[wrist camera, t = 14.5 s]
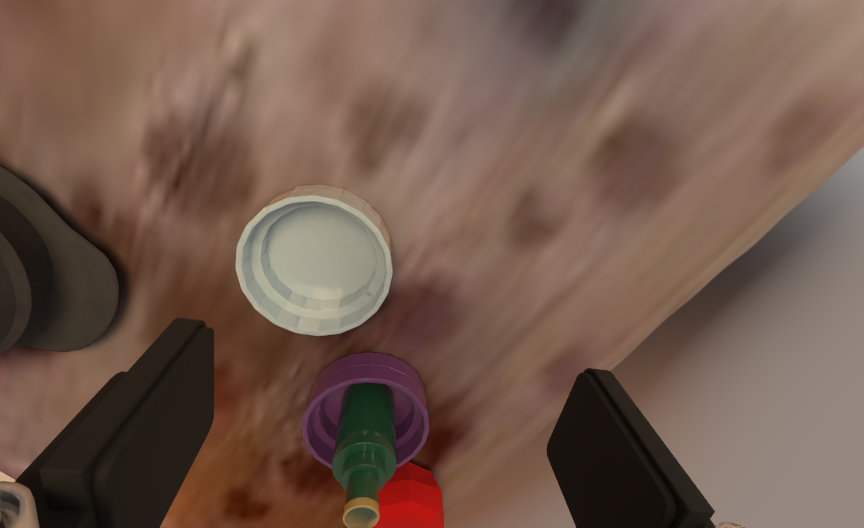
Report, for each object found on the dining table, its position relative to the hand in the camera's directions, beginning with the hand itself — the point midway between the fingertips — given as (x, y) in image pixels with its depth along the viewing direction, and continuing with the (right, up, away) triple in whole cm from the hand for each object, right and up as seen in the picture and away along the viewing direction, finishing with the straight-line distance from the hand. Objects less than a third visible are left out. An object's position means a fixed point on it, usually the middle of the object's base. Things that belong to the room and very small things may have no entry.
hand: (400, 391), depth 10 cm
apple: (-3, -24, +42) cm, 49 cm away
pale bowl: (-10, +5, +29) cm, 31 cm away
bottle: (-6, -12, +36) cm, 38 cm away
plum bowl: (-6, -12, +36) cm, 39 cm away
